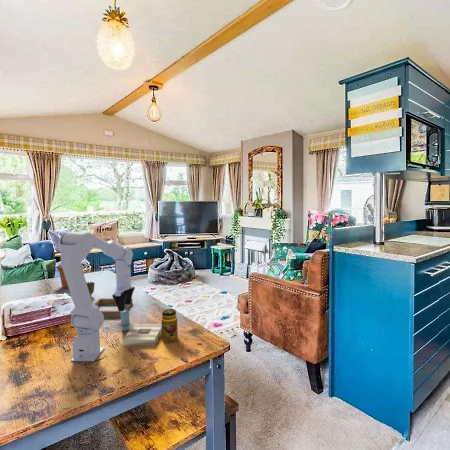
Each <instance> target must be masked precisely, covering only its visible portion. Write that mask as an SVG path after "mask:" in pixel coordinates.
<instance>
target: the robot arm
mask: <svg viewBox="0 0 450 450" xmlns="http://www.w3.org/2000/svg"><path fill="white" fill-rule="evenodd" d="M57 246H58V248H59V252H60V265H62V268H63V272H64V275H65V278H66V281H67V284H68V287H69V288H68V289H69V293H70V296H71V299H72V303H73V305H74V307H73V308H72V309H71V311H70V316H71V319H70V323H71V326H72V327H73V328H75V329H74V330H75V332H76V336H75V338H74V340H72V356H73V357H72V358H71V359H70V361H71V362H95V360H97V358H98V357H99V355H101V353H102V352H103V351H104V350H105V348H106V347H105V346H101V341H100V339H101V337H100V330H101V329H102V327H103V326H104V322H105V318H104V315H103V313H102V312H101V311H102V310H101V309H100V306H99V307H98V306H96V305H95V304H94V302H93V299H92V296H91V297H90V293H89V290H88V287H87V283H88V282H87V281H86V278H85V274H84V270H83V266H82V267H81V264H82V263H81V262H83V261H84V260H85V259H86V258H87V256H88V255H89V254H90V253H91V252H92V250H93V249H94V248H96V249H98V250H101V251H102V253H103V255H105V256H107V257H110V258H112V260H114V261H115V275H116V276H115V278H116V281H115V282H116V286H115V291H114V293H112V296H111V297H112V298H114V300H115V302H116V304H117V305H116V307H117V311H118V310H119V311H124V309H125V305H130V304H131V299H132V300H133V298H132V297H133V294H134V291H135V289H136V287H135V286H134V284H133V280H132V275H131V273H132V272H131V265H132V260H133V257H134V252H133V250H132V249H131V248H130V247H129V246H123V244H121V243H117V241H116V240H115V239H112V240H111V239H110V240H108V241H106V240H104V239H102V238H100V237H99V236H97V235H96V234H94V233H91V232H75V231H73V232H71V231H65V232H63V233H62V234H61V235H60V237H59V239H58V242H57ZM86 282H87V283H86Z"/></svg>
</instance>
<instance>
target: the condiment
mask: <svg viewBox="0 0 450 450" xmlns="http://www.w3.org/2000/svg"><path fill="white" fill-rule="evenodd" d="M161 324H162V333H161V340H162V342H163V343H165V344H171V343H174V342H177V341H178V336H179V335H178V317H177V311H176V310H175V308H168V309H164V310H162V314H161Z"/></svg>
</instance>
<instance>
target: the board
mask: <svg viewBox="0 0 450 450" xmlns="http://www.w3.org/2000/svg"><path fill="white" fill-rule="evenodd" d="M161 336H162V323H135V324H133V326H132V327H130V329H129V330H128V332H127V333H126V335H124V337H123V339H122V346H124V347H155V346H156V345H157V343H158V341H159V340H160V337H161Z"/></svg>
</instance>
